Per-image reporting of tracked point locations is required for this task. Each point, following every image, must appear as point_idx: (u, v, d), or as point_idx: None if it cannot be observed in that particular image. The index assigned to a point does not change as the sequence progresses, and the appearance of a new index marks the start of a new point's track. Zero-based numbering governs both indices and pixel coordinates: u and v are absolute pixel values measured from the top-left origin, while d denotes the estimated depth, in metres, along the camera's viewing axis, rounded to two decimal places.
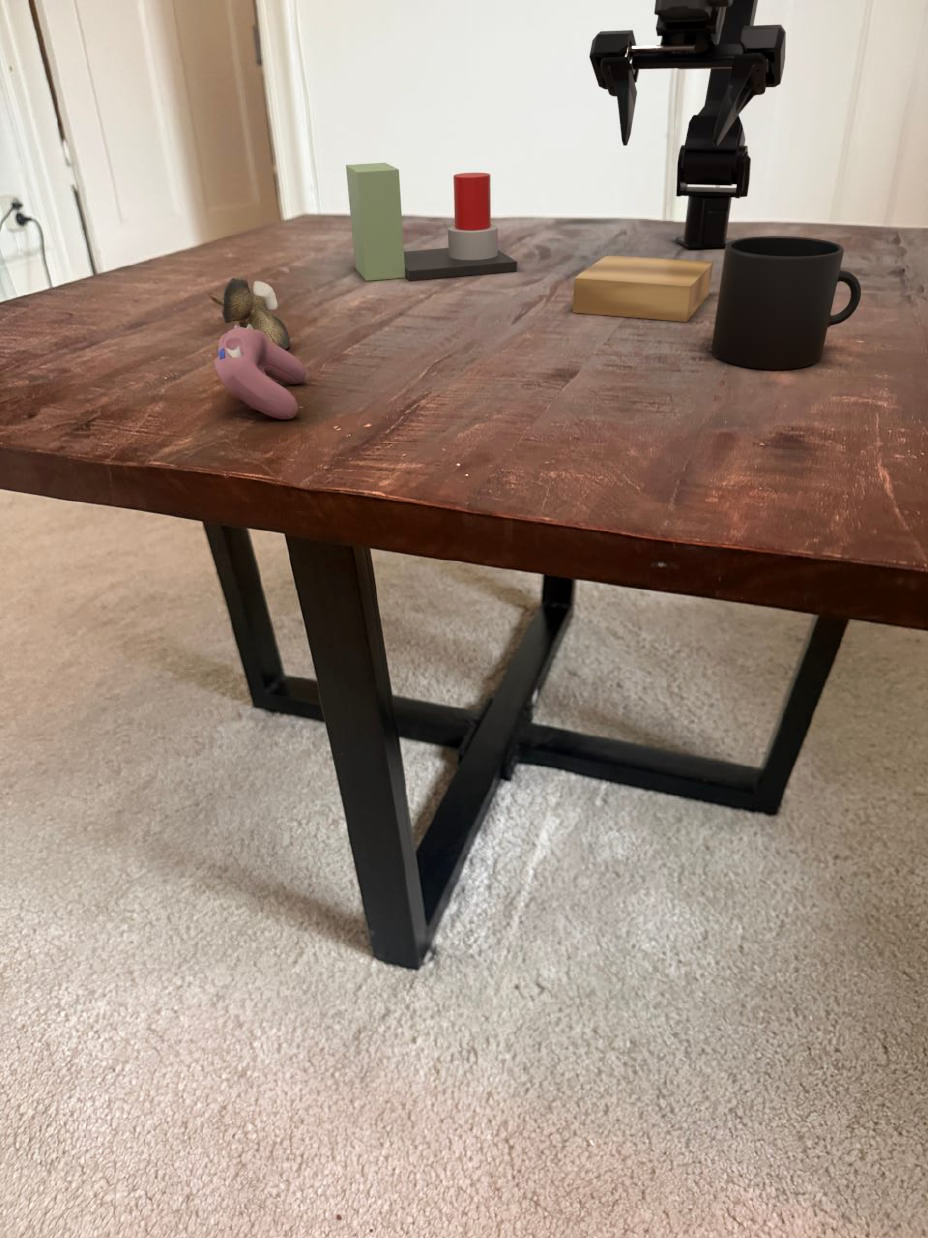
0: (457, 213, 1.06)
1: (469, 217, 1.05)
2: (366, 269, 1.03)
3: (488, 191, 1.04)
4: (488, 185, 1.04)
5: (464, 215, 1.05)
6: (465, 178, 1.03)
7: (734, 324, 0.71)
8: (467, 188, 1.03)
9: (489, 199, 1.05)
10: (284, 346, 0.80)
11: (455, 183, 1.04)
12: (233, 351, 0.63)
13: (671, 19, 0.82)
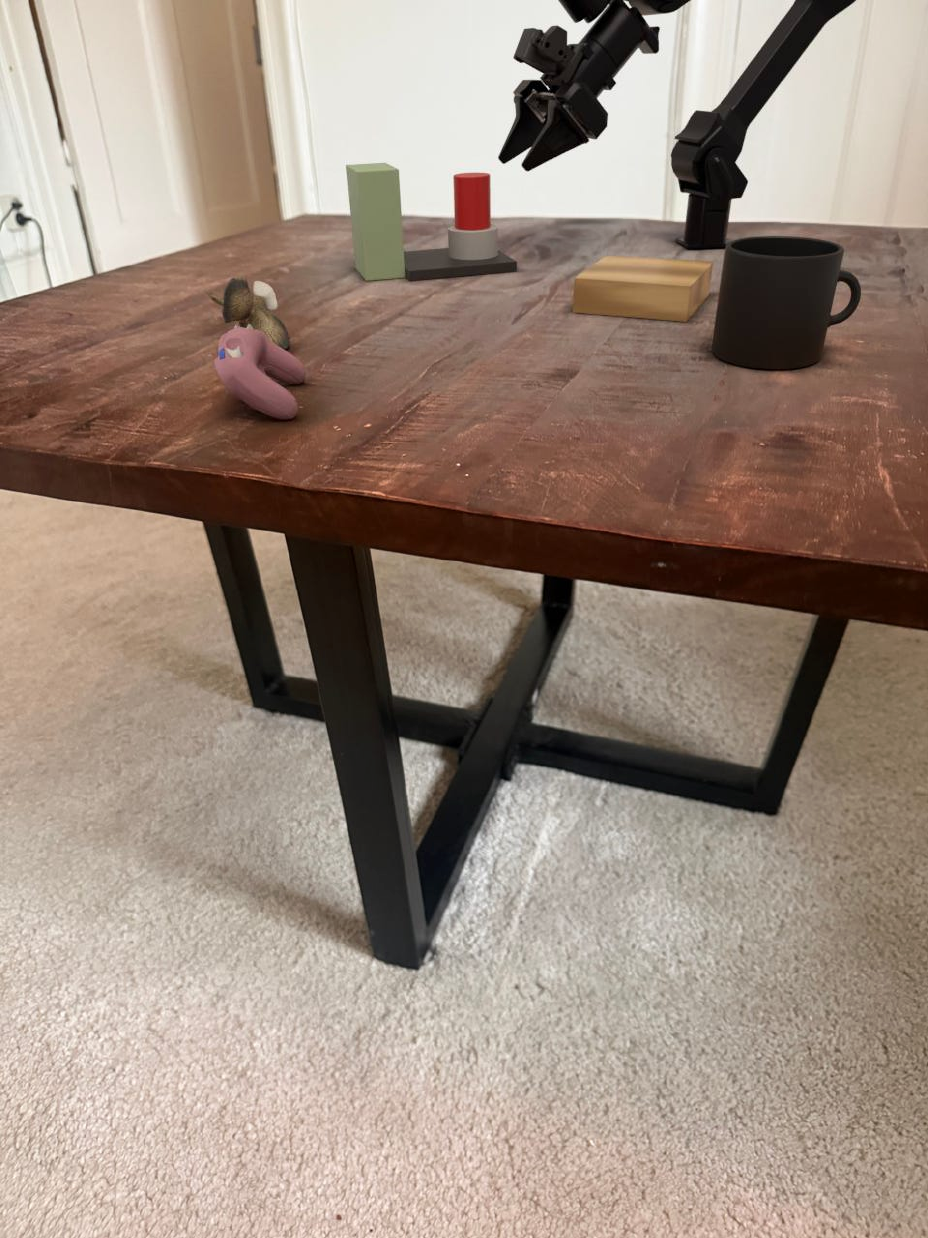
0: (457, 213, 1.06)
1: (469, 217, 1.05)
2: (366, 269, 1.03)
3: (488, 191, 1.04)
4: (488, 185, 1.04)
5: (464, 215, 1.05)
6: (465, 178, 1.03)
7: (734, 324, 0.71)
8: (467, 188, 1.03)
9: (489, 199, 1.05)
10: (284, 346, 0.80)
11: (455, 183, 1.04)
12: (233, 351, 0.63)
13: (543, 71, 1.01)
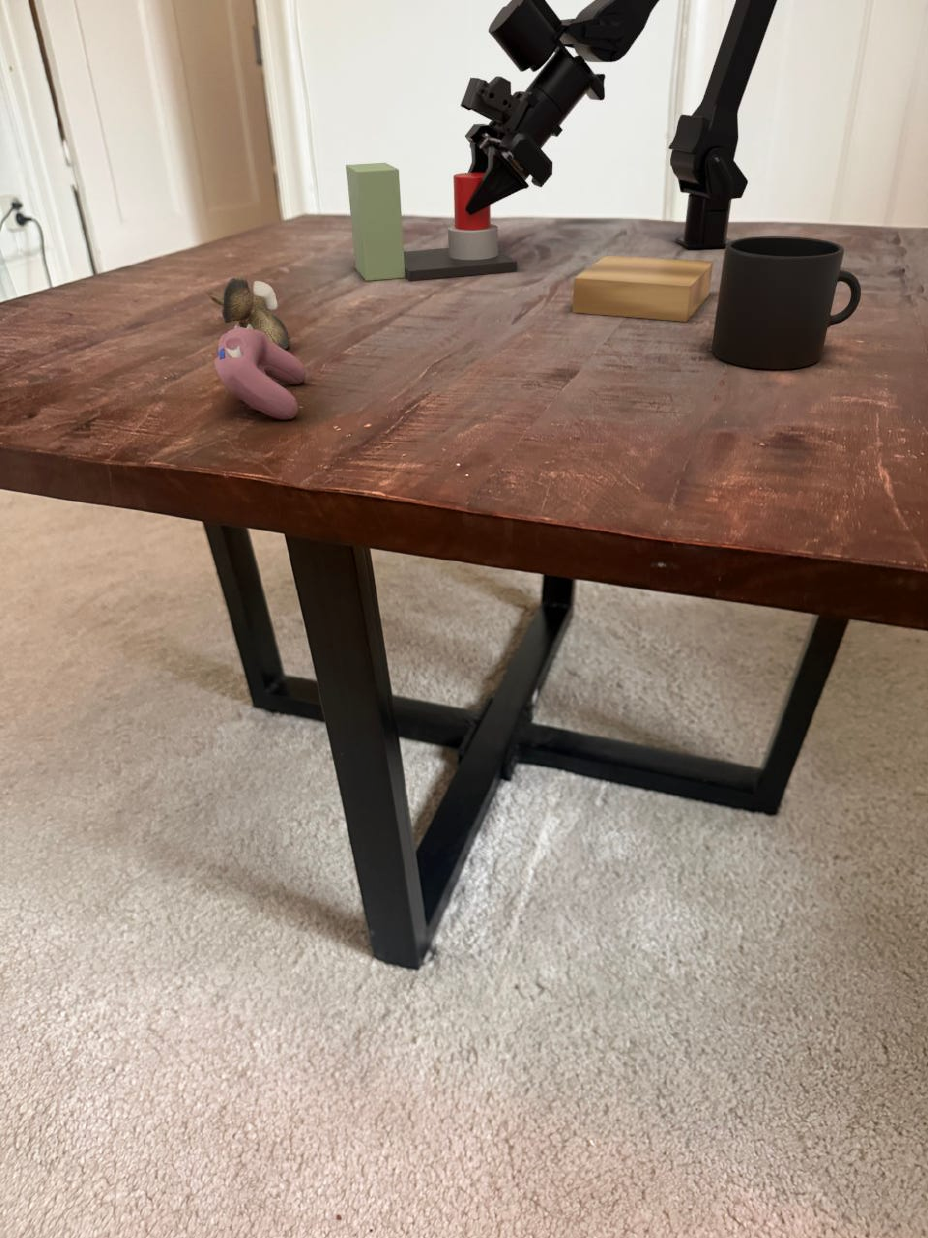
0: (457, 213, 1.06)
1: (469, 217, 1.05)
2: (366, 269, 1.03)
3: None
4: None
5: (464, 215, 1.05)
6: (465, 178, 1.03)
7: (734, 324, 0.71)
8: (467, 188, 1.03)
9: None
10: (284, 346, 0.80)
11: (455, 183, 1.04)
12: (233, 351, 0.63)
13: (490, 118, 1.03)
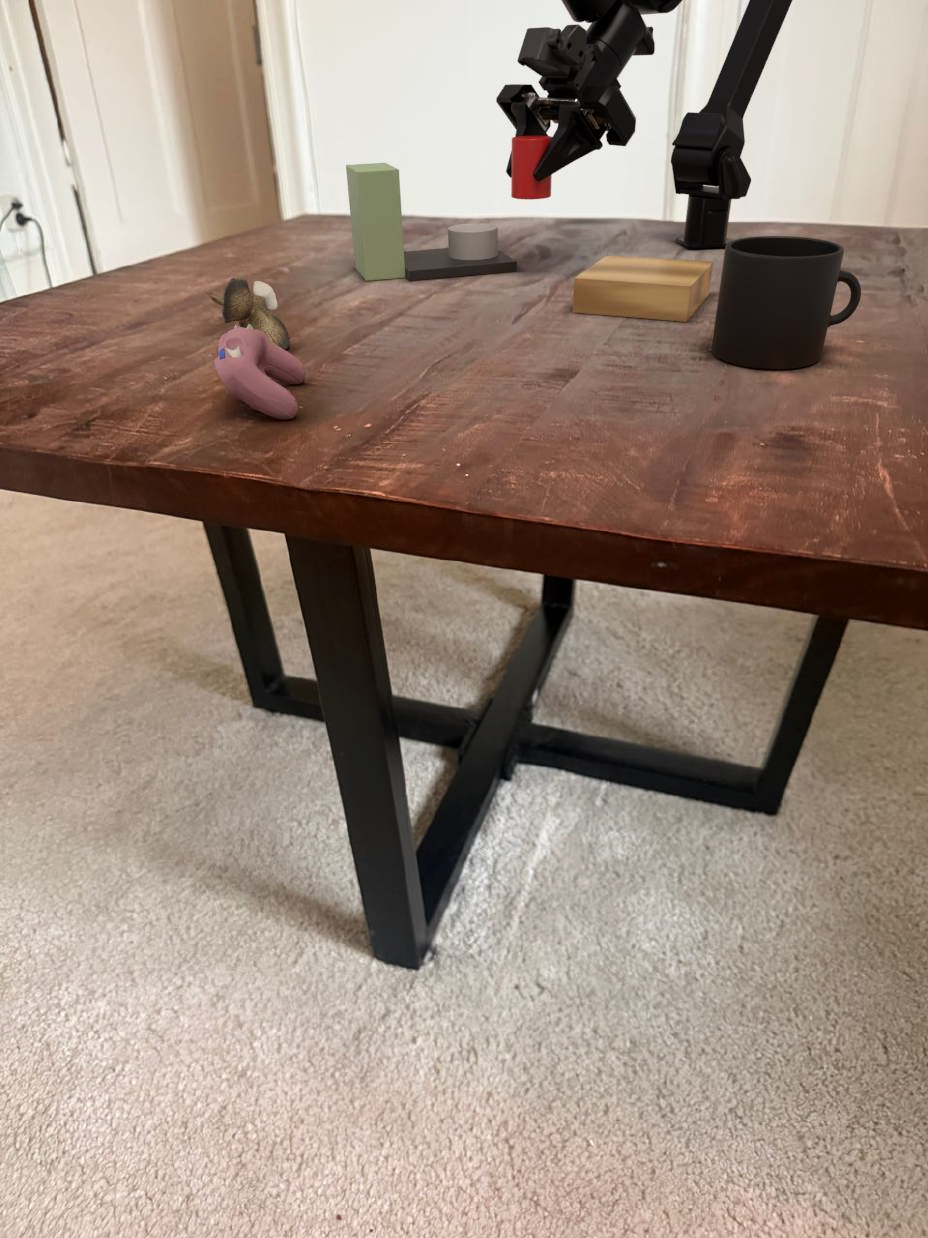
0: (520, 181, 0.95)
1: (536, 184, 0.95)
2: (366, 269, 1.03)
3: None
4: None
5: (530, 182, 0.95)
6: (533, 140, 0.93)
7: (734, 324, 0.71)
8: (535, 152, 0.93)
9: None
10: (284, 346, 0.80)
11: (518, 147, 0.93)
12: (233, 351, 0.63)
13: (546, 74, 0.93)
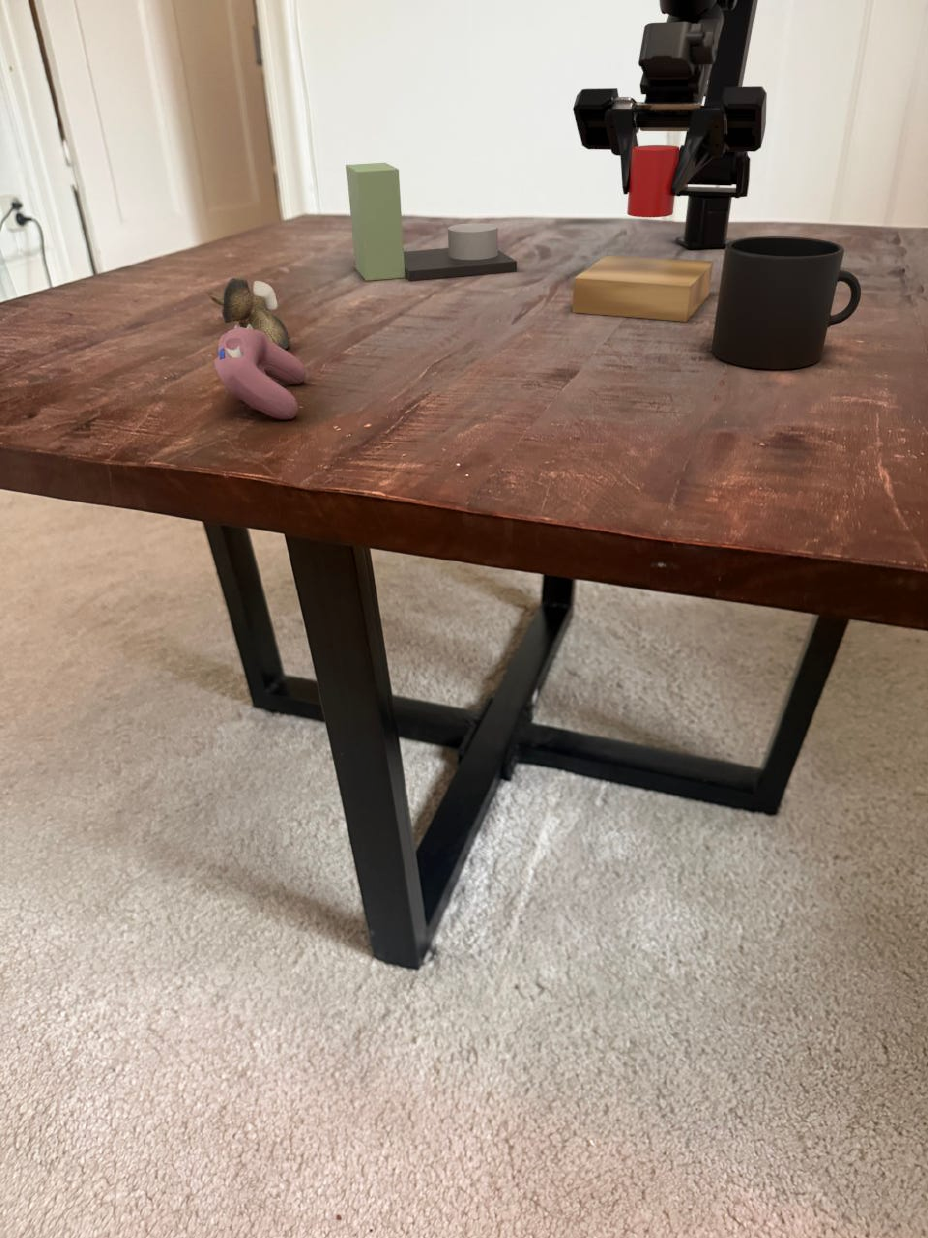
0: (653, 197, 0.84)
1: (669, 199, 0.84)
2: (366, 269, 1.03)
3: None
4: None
5: (664, 198, 0.84)
6: (671, 150, 0.81)
7: (734, 324, 0.71)
8: (671, 163, 0.82)
9: None
10: (284, 346, 0.80)
11: (653, 158, 0.82)
12: (233, 351, 0.63)
13: (655, 76, 0.82)
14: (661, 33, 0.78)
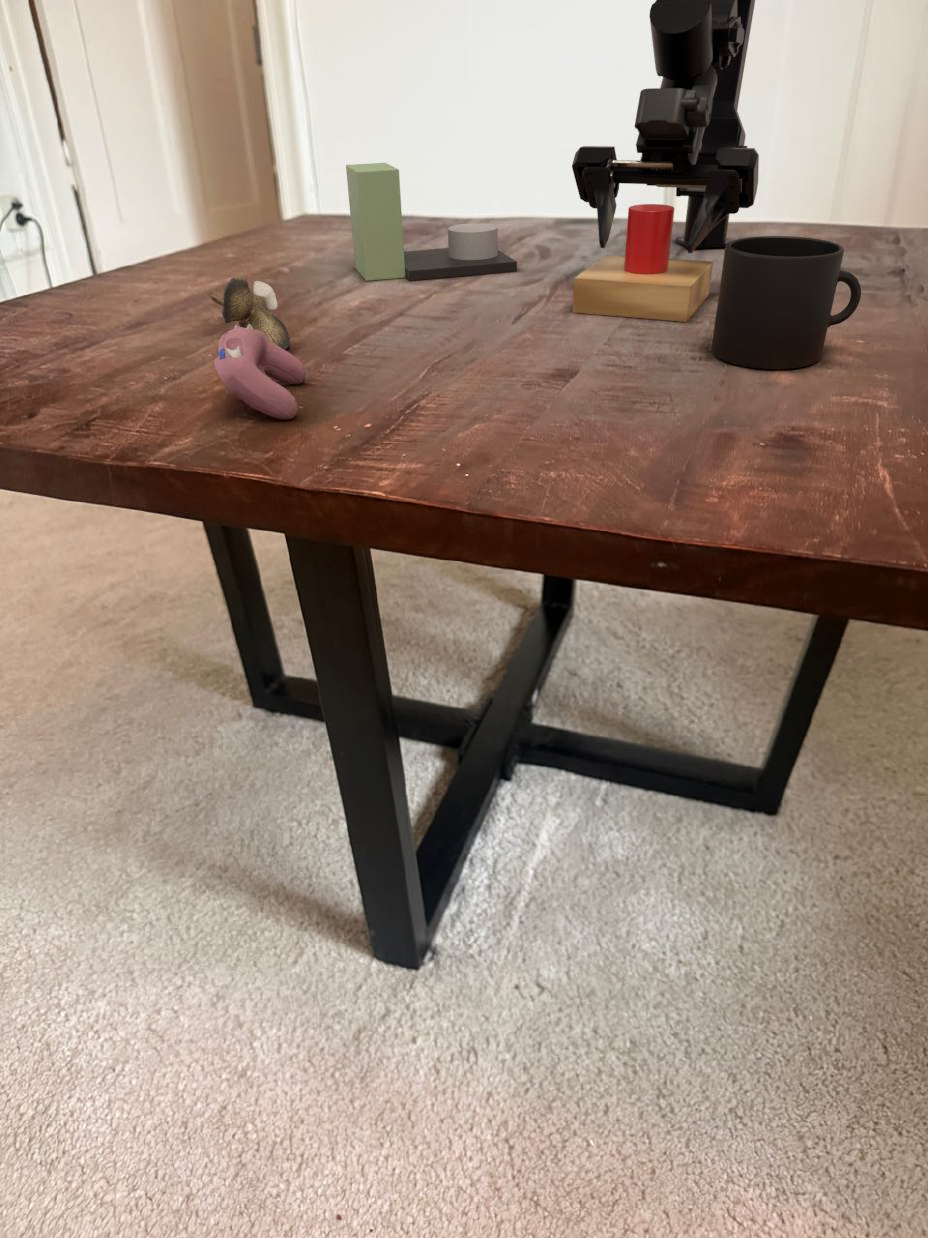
0: (649, 255, 0.86)
1: (664, 257, 0.87)
2: (366, 269, 1.03)
3: None
4: None
5: (659, 256, 0.87)
6: (666, 211, 0.84)
7: (734, 324, 0.71)
8: (666, 223, 0.85)
9: None
10: (284, 346, 0.80)
11: (649, 219, 0.85)
12: (233, 351, 0.63)
13: (651, 136, 0.85)
14: (657, 98, 0.81)
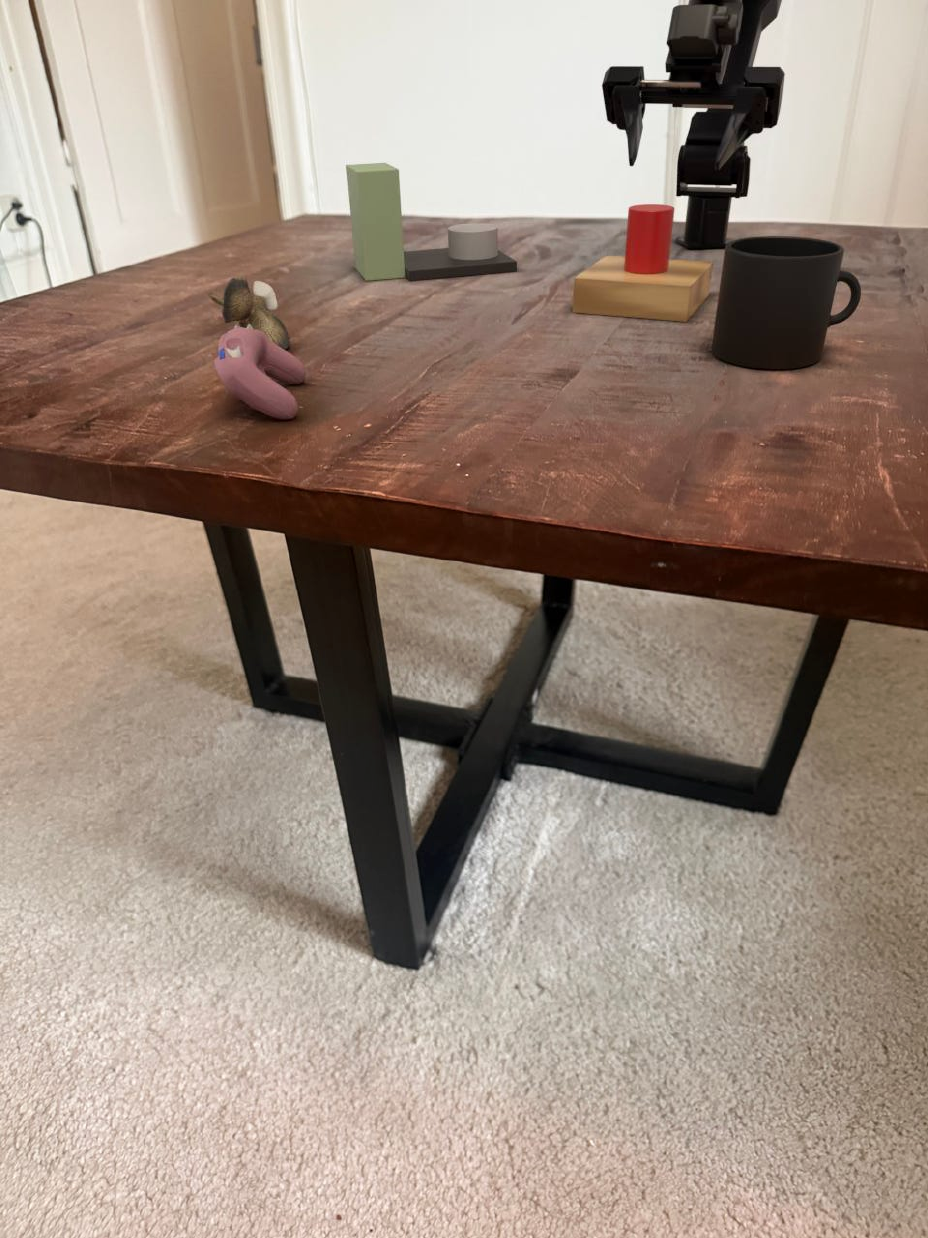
0: (649, 255, 0.86)
1: (664, 257, 0.87)
2: (366, 269, 1.03)
3: None
4: None
5: (659, 256, 0.87)
6: (666, 211, 0.84)
7: (734, 324, 0.71)
8: (666, 223, 0.85)
9: None
10: (284, 346, 0.80)
11: (649, 219, 0.85)
12: (233, 351, 0.63)
13: (680, 55, 0.88)
14: (689, 15, 0.84)
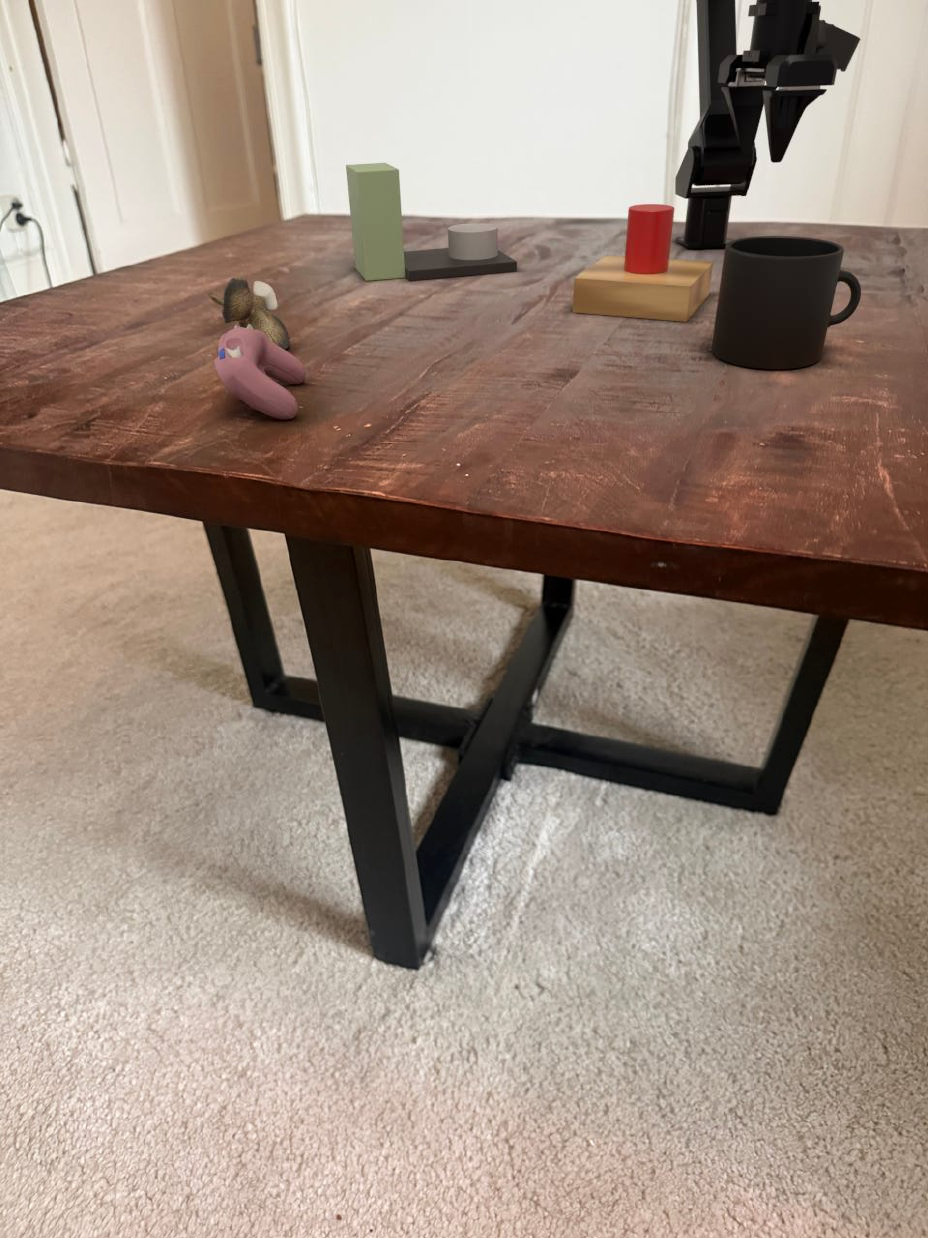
0: (649, 255, 0.86)
1: (664, 257, 0.87)
2: (366, 269, 1.03)
3: None
4: None
5: (659, 256, 0.87)
6: (666, 211, 0.84)
7: (734, 324, 0.71)
8: (666, 223, 0.85)
9: None
10: (284, 346, 0.80)
11: (649, 219, 0.85)
12: (233, 351, 0.63)
13: None
14: None
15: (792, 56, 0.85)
